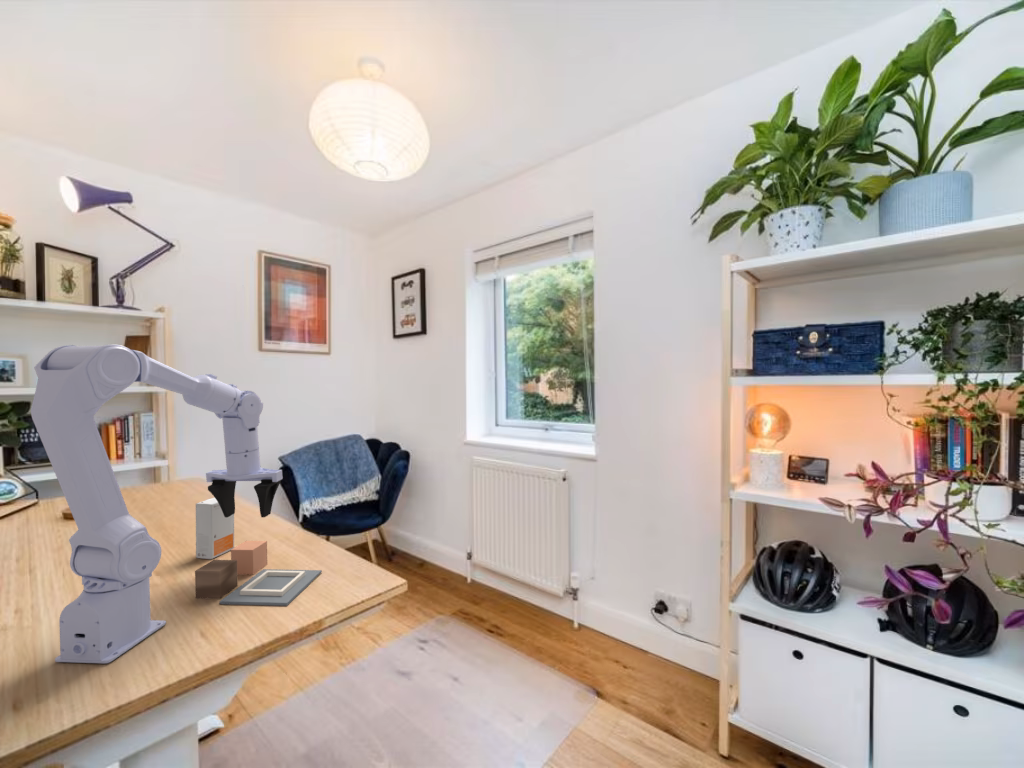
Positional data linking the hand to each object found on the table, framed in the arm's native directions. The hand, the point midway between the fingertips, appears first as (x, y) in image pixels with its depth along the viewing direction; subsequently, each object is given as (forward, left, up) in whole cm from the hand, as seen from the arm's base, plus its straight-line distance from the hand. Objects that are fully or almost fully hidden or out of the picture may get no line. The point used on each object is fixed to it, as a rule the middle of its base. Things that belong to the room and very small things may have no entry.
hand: (247, 515), depth 86 cm
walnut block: (-9, 0, -11) cm, 14 cm away
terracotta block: (0, 0, -11) cm, 11 cm away
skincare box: (+7, +12, -11) cm, 18 cm away
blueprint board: (-7, -10, -11) cm, 16 cm away
